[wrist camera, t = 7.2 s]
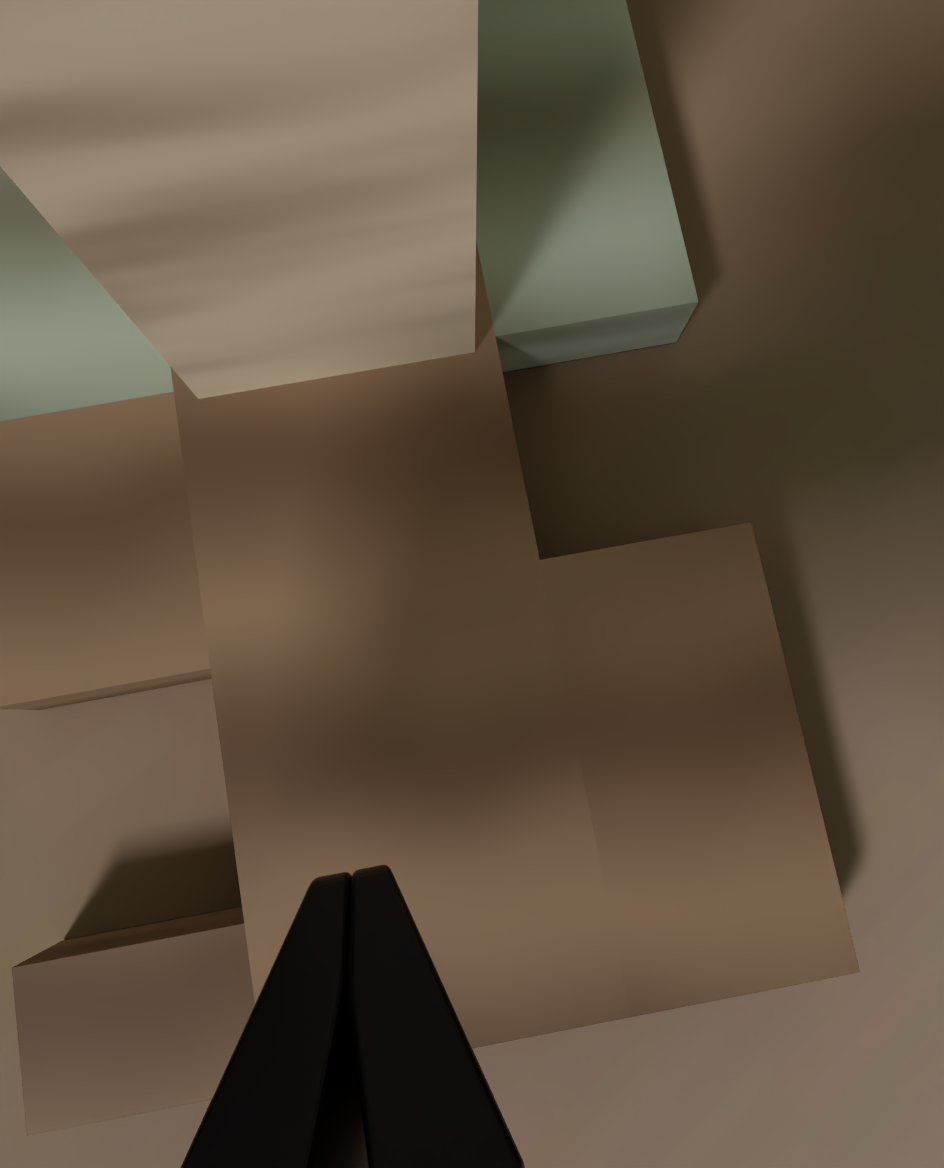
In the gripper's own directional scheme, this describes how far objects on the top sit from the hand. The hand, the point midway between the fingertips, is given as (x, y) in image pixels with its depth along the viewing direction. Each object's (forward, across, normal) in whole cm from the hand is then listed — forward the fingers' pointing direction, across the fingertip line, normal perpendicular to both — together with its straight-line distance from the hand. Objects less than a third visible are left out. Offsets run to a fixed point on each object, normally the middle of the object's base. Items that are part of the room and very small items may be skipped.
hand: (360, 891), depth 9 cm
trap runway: (+12, 0, +1) cm, 12 cm away
